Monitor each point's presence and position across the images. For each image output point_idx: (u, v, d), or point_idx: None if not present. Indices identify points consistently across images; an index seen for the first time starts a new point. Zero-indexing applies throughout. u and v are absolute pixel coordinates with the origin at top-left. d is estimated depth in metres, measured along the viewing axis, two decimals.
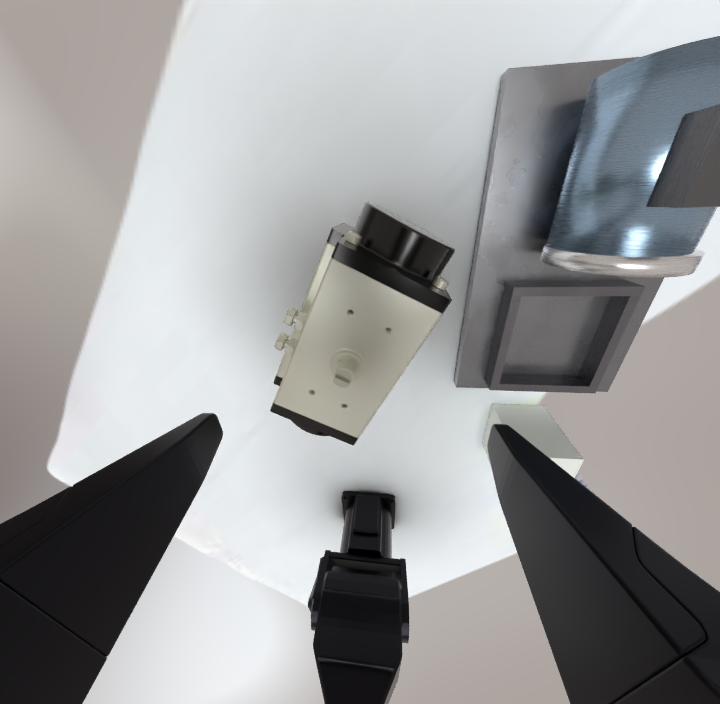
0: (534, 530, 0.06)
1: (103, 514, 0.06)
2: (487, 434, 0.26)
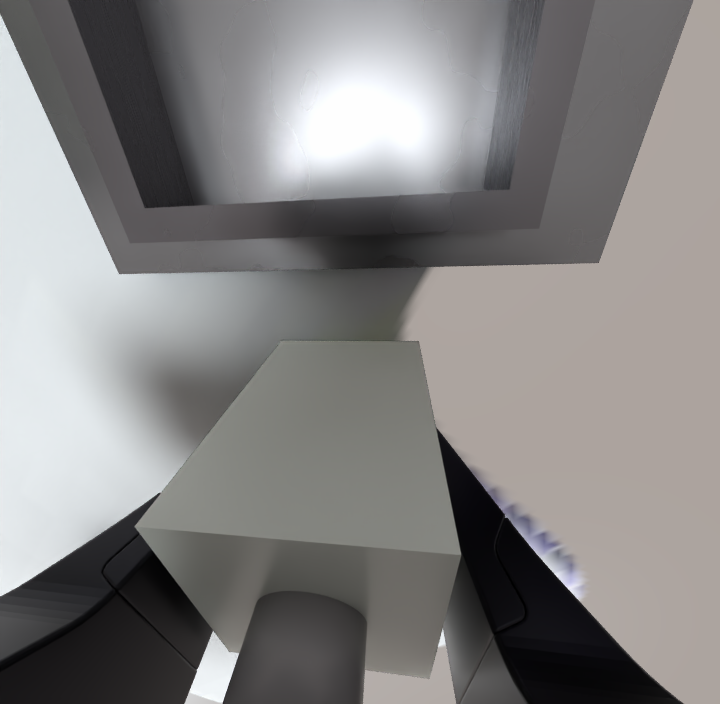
0: None
1: None
2: None
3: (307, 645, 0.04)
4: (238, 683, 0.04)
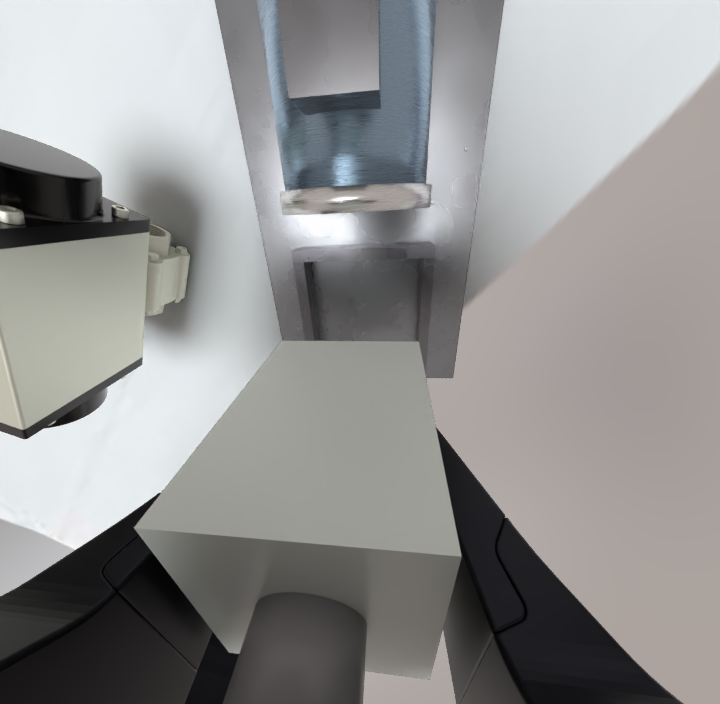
0: None
1: None
2: None
3: (307, 647, 0.04)
4: (238, 685, 0.04)
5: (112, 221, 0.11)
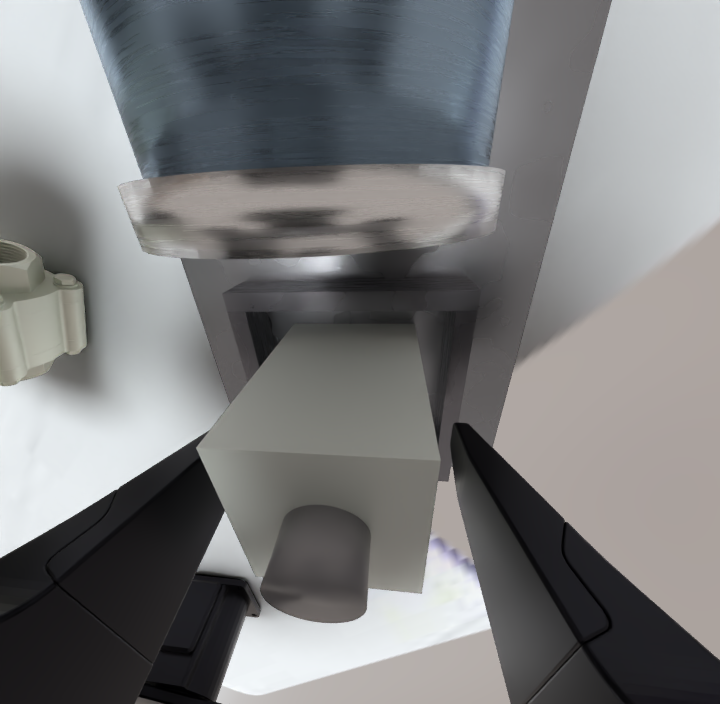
0: (481, 526, 0.06)
1: (151, 518, 0.06)
2: None
3: (326, 536, 0.05)
4: (275, 561, 0.05)
5: None
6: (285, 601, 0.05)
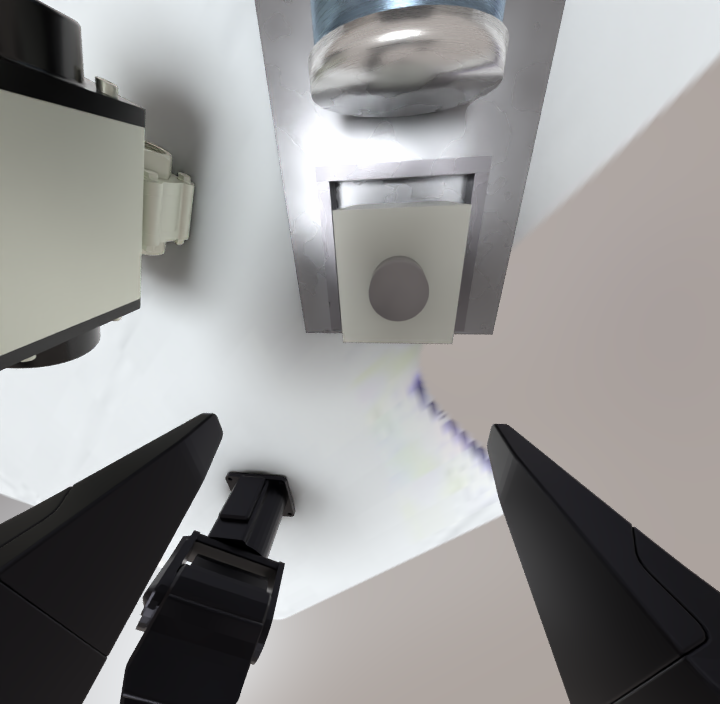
0: (534, 530, 0.06)
1: (103, 514, 0.06)
2: None
3: (405, 259, 0.09)
4: (379, 268, 0.09)
5: (96, 92, 0.09)
6: (381, 298, 0.09)
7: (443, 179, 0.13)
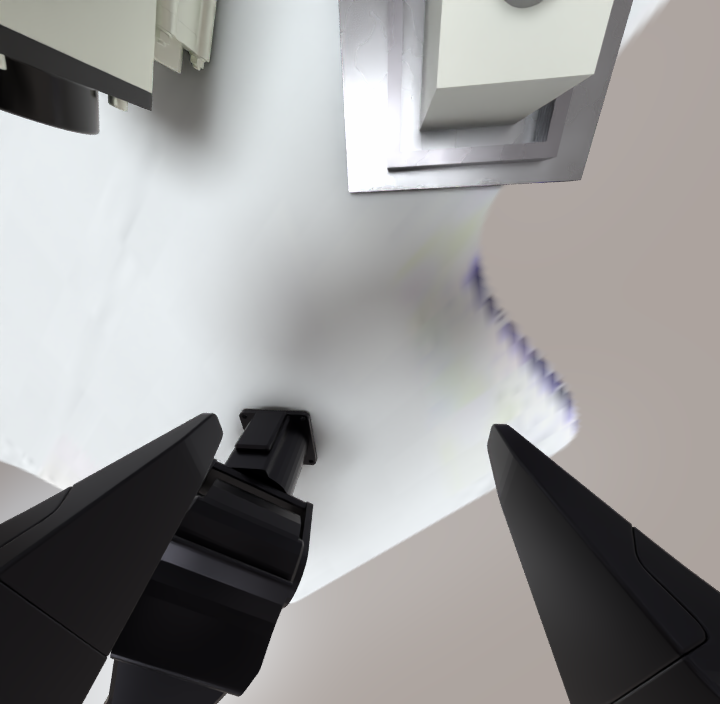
0: (534, 530, 0.06)
1: (103, 514, 0.06)
2: (422, 82, 0.12)
3: None
4: None
5: None
6: None
7: None
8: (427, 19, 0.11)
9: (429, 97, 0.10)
